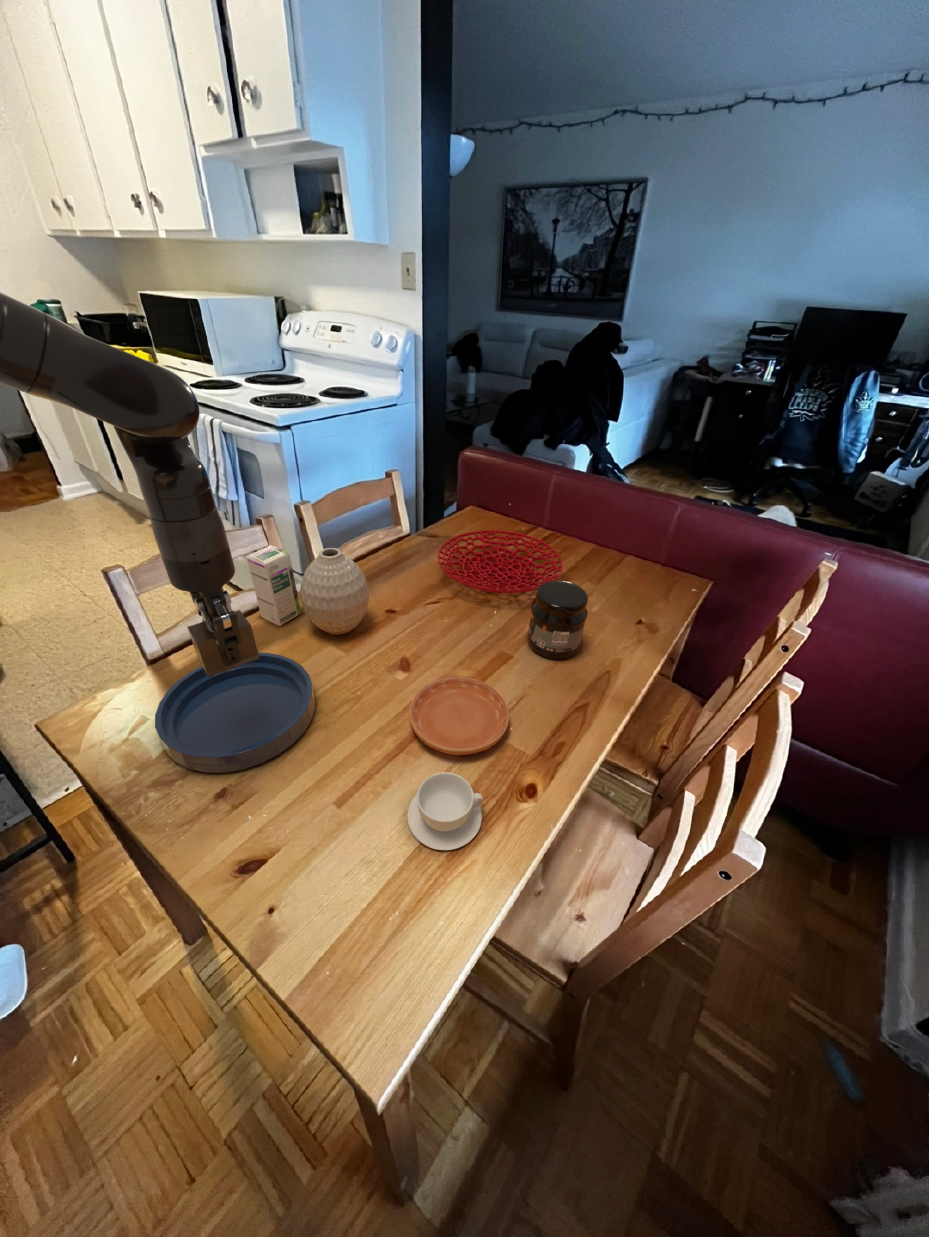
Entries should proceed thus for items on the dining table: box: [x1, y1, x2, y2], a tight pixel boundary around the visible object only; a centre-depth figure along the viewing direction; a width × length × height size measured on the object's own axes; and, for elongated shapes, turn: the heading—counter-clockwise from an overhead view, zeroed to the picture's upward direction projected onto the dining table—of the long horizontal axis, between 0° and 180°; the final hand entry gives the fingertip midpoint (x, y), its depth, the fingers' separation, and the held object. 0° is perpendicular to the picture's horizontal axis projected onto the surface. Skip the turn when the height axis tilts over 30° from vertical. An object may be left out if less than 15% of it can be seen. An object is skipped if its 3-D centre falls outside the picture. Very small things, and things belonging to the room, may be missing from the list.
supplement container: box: [526, 580, 589, 660], centre depth 95 cm, size 10×10×12 cm
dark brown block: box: [186, 609, 259, 677], centre depth 69 cm, size 7×4×6 cm, turn 129°
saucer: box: [408, 676, 510, 756], centre depth 80 cm, size 16×16×3 cm
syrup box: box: [245, 544, 302, 627], centre depth 98 cm, size 6×6×14 cm
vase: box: [299, 547, 370, 636], centre depth 96 cm, size 13×13×17 cm
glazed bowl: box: [154, 652, 316, 773], centre depth 79 cm, size 23×23×4 cm
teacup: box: [407, 771, 484, 851], centre depth 66 cm, size 10×10×5 cm
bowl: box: [437, 529, 564, 594], centre depth 118 cm, size 30×30×5 cm
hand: (226, 652), depth 70 cm, fingers closed on dark brown block, 4 cm apart
